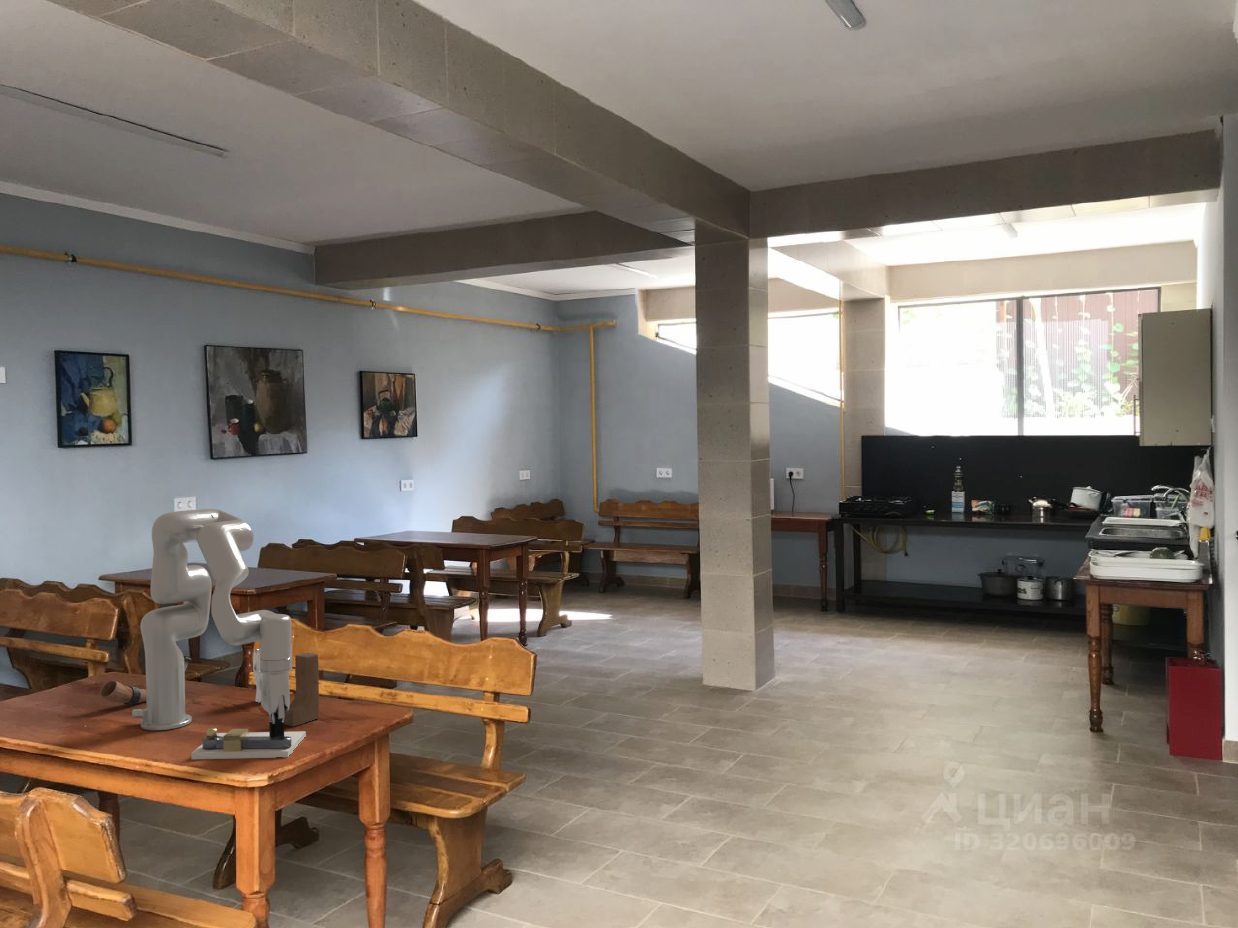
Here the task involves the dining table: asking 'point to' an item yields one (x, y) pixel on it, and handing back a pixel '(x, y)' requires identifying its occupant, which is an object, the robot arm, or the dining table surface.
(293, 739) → the base plate
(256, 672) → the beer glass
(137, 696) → the drinking horn
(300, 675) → the wooden block
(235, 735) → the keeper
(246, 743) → the link
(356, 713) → the dining table surface
